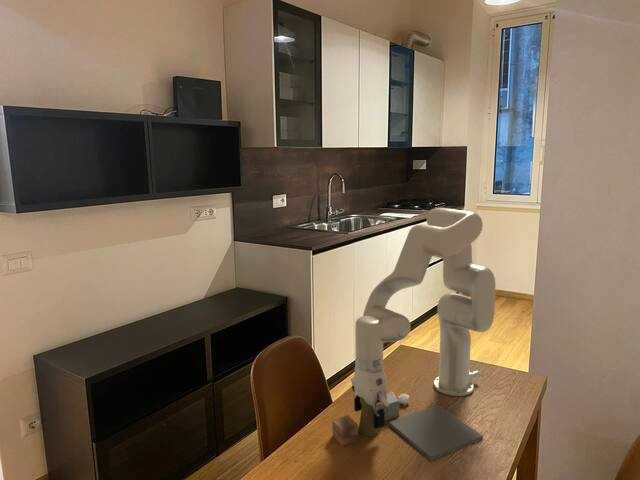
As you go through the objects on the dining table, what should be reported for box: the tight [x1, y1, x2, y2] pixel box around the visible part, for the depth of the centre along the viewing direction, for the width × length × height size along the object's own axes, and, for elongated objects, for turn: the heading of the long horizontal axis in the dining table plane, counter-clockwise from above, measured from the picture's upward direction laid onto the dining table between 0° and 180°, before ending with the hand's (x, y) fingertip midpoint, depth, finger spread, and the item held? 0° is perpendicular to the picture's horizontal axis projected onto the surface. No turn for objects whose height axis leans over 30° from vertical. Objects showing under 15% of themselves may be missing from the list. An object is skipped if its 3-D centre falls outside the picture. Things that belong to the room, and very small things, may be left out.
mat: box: [388, 404, 484, 461], centre depth 135 cm, size 18×18×1 cm
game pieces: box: [389, 391, 411, 406], centre depth 152 cm, size 12×3×3 cm, turn 50°
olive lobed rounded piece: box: [358, 397, 381, 437], centre depth 135 cm, size 6×6×11 cm
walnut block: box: [332, 414, 359, 447], centre depth 132 cm, size 5×5×5 cm
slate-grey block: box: [377, 392, 400, 421], centre depth 144 cm, size 5×5×5 cm
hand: (368, 418), depth 136 cm, fingers open, 9 cm apart
